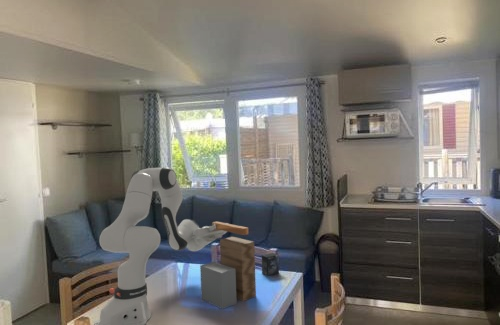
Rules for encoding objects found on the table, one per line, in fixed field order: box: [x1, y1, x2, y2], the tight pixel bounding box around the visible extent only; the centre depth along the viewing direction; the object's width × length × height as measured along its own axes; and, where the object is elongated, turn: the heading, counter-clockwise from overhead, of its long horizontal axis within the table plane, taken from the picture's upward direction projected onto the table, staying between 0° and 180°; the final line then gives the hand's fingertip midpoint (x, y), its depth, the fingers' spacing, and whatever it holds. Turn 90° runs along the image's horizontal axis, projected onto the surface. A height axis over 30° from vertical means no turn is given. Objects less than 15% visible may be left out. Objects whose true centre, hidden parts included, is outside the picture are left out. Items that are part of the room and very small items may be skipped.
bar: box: [211, 221, 249, 236], centre depth 190 cm, size 3×24×3 cm, turn 42°
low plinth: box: [199, 261, 237, 310], centre depth 179 cm, size 8×16×16 cm, turn 42°
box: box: [261, 252, 280, 277], centre depth 216 cm, size 8×6×11 cm
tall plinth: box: [219, 236, 257, 302], centre depth 187 cm, size 8×16×26 cm, turn 42°
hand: (219, 224), depth 196 cm, fingers closed on bar, 3 cm apart
